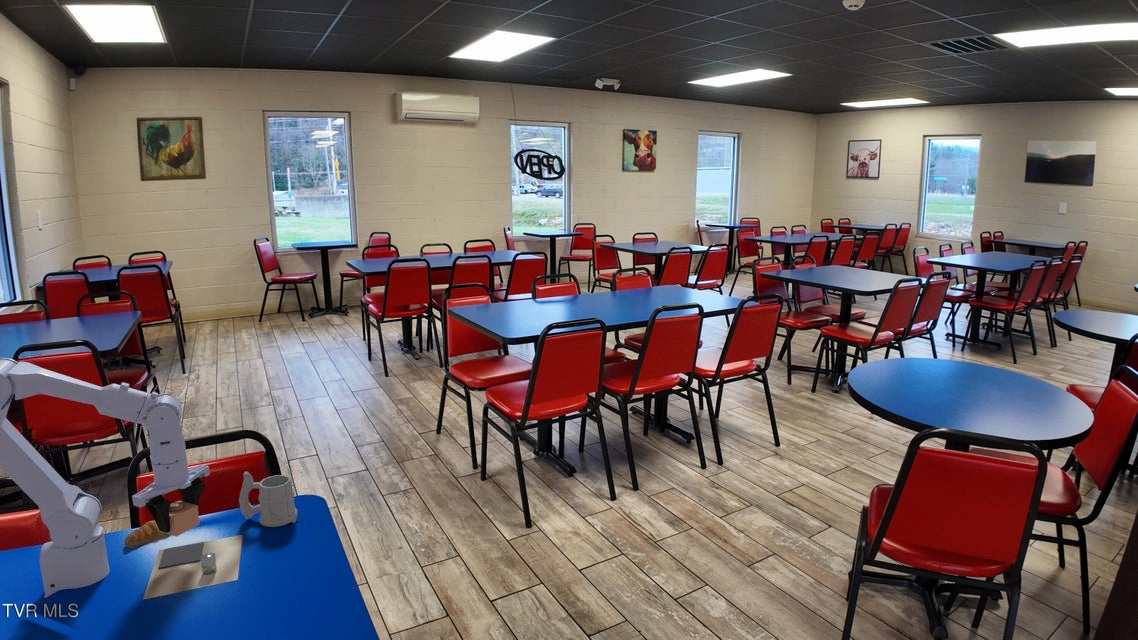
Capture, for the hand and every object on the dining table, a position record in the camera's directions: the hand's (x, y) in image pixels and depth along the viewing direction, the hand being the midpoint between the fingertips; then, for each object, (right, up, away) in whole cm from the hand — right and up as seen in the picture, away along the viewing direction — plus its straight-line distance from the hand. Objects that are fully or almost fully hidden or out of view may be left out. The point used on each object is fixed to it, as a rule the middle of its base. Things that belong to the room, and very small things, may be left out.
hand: (178, 524), depth 128 cm
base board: (+5, -8, -1) cm, 9 cm away
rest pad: (0, -8, +2) cm, 8 cm away
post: (+8, -9, -3) cm, 12 cm away
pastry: (-10, -6, +10) cm, 16 cm away
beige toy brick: (0, -1, 0) cm, 1 cm away
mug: (+11, -5, +16) cm, 20 cm away
